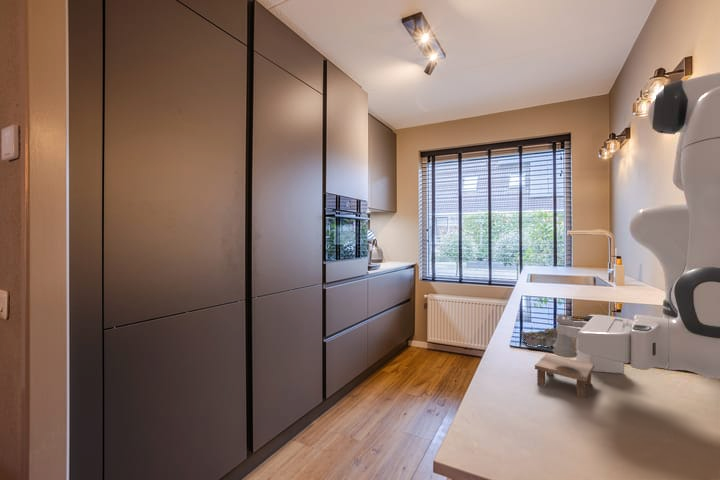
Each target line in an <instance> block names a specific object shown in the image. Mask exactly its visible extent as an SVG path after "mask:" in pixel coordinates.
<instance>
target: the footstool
mask: <svg viewBox="0 0 720 480" xmlns="http://www.w3.org/2000/svg"><path fill="white" fill-rule="evenodd" d="M593 369H594V364H590V363H586V362H581V361H577V360H575V359H571V358H567V357H561V356H558V355H553V354H547V353H545V354H544V356H543V357H541V358H540V360H539V361H538V362H536V363H535V364H534V370H536V371H537V374H536V375H537V379H536V382H537V385H539V386H542V387H545V385H546V375H549V376H553V375H558V376H562V377H566V378H571V379H573V380H576V396H578V397H583V398H585V396H586V385H589V386H591V384H592V372H593V371H592V370H593Z"/></svg>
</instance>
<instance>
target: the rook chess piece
mask: <svg viewBox="0 0 720 480" xmlns="http://www.w3.org/2000/svg"><path fill="white" fill-rule="evenodd" d="M555 321H556V323H557V326H558V325H559V324H564V325H568V326H571V325H572V324H573V322H574V321H575V320H573V317H572V315H571V316H569V315H566V317H565V314H558V315H557V317H556V319H555ZM555 342H556V343H555V344H553V347H552V348H553V349H552V352H553V354H554V355H555V356H558V357H562V358H567V359H571V358H576V355H577V353H576V350H577V348H576V345H575V343H574V340H573V338H572V337H570V336H567V335H563V334H558V335H557V340H556V341H555Z"/></svg>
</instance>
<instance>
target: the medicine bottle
mask: <svg viewBox="0 0 720 480" xmlns="http://www.w3.org/2000/svg"><path fill="white" fill-rule="evenodd" d="M594 315H595V314H588V315H585V316H584V317H583V321H587V322H588V321H589V320H590V319H591V318H592V317H593V316H594ZM575 340H576V343H575V344H576V345H575V347H576V348H577V350H576V351H575V352H576V353H577V355H576V356H575V359H576V361H581V362H586V363H590V364H594V369H593V370H592V372H596V373H597V372H598V373H611V374H622V375H623V374H624V373H625V363H622V362H616V361H612V360H608V359H604V358H600V357H596V356H592V355H588V354H585V353H583V352H581V351H579V350H578V344H577V339H575Z"/></svg>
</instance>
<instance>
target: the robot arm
mask: <svg viewBox="0 0 720 480" xmlns="http://www.w3.org/2000/svg"><path fill="white" fill-rule="evenodd" d="M647 112H648V113H647V116H648V121H649V122H650V125H651V127H652V128H651V129H652V130H653V131H655V132H657V133H659V134H666V135H675V134H676V133H679V137H678V141H677V145H676V151H675V152H676V153H675V158H674V159H675V160H674V164H673V173H672V181H673V182H672V183H673V184H674V186H676V188H678V189H679V190H680V191H682V192H683V193H684V199H685V202H686V204H684V203H683V204H665V205H664V204H662V205H661V204H660V205H655V206H651V207H646V208H645V207H644V208H641V209H639V210H638V211H637V212H635V214H633V216H632V217H631V220H630V221H629V232H630V235H631V237H632V238H633V239H634V241H635V242H637V243H638V244H640V245H641V246H643V248H644V247H645V249H647V250H649V251H650V252H651V253H652V254H653V256H655V258H656V259H657V260H658V262H659V263H660V266H661V267H662V271H663V272H662V273H663V276H664V277H663V278H664V288H665V289H664V290H665V291H664V292H665V298H664V299H663V300H662V301H663V302H662V313H663V315H662V317H660V316H652V315H644V314H636V313H635V315H634V316H633V319H630V318H624V317H617V316H613V315H612V316H611V315H607V314H606V315H604V314H593V315H594V316H593V317H592V318H591V319H590V320H589V321H588V322H587V321H584V320H573V321H574V322H573V324H572V325H571V326H568V325H564V324H559V325H558V324H557V326H556V329H557V333H558V334H563V335H567V336H570V337H572V339H575V340H576V339H577V344H578V350H579V351H581V352H583V353H585V354H588V355H592V356H596V357H600V358H604V359H608V360H612V361H616V362H622V363H624V364H629V363H630V367H631V368H632V369H636V370H641V371H648V370H649V369H653V368H659V369H665V370H670V371H674V370H675V371H676V370H677V371H678V370H679V371H688V372H692V373H695V374H698V375H700V376H703V377H707V378H710V379H711V378H712V379H716V380H720V72H715V73H711V74H710V73H709V74H705V75H701V76H698V77H692V78H689V79H685V80H683V79H679V80H675V81H672V82H669V83H666V84H664V85H662V86H661V87H660V88H659V89H657V90H656V92H655V95H654V96H653V97H652V99H651V101H650V103H649V107H648V111H647Z"/></svg>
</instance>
